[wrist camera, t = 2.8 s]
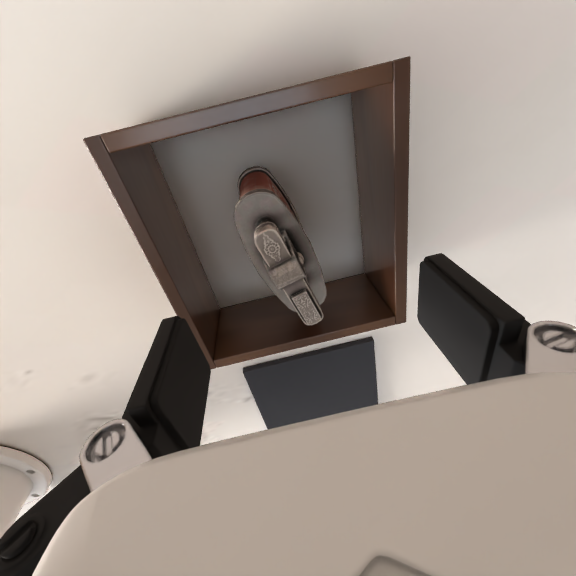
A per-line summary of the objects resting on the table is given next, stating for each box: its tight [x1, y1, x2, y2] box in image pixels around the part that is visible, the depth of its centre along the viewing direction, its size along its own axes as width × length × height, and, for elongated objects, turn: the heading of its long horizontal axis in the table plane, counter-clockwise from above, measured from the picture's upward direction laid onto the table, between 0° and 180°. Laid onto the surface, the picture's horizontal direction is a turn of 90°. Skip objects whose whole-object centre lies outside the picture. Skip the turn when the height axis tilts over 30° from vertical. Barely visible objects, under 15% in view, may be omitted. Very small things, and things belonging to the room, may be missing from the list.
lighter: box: [234, 166, 326, 325], centre depth 18 cm, size 8×3×10 cm, turn 26°
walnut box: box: [83, 56, 410, 369], centre depth 20 cm, size 15×16×6 cm
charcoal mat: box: [243, 337, 378, 429], centre depth 36 cm, size 14×20×1 cm
